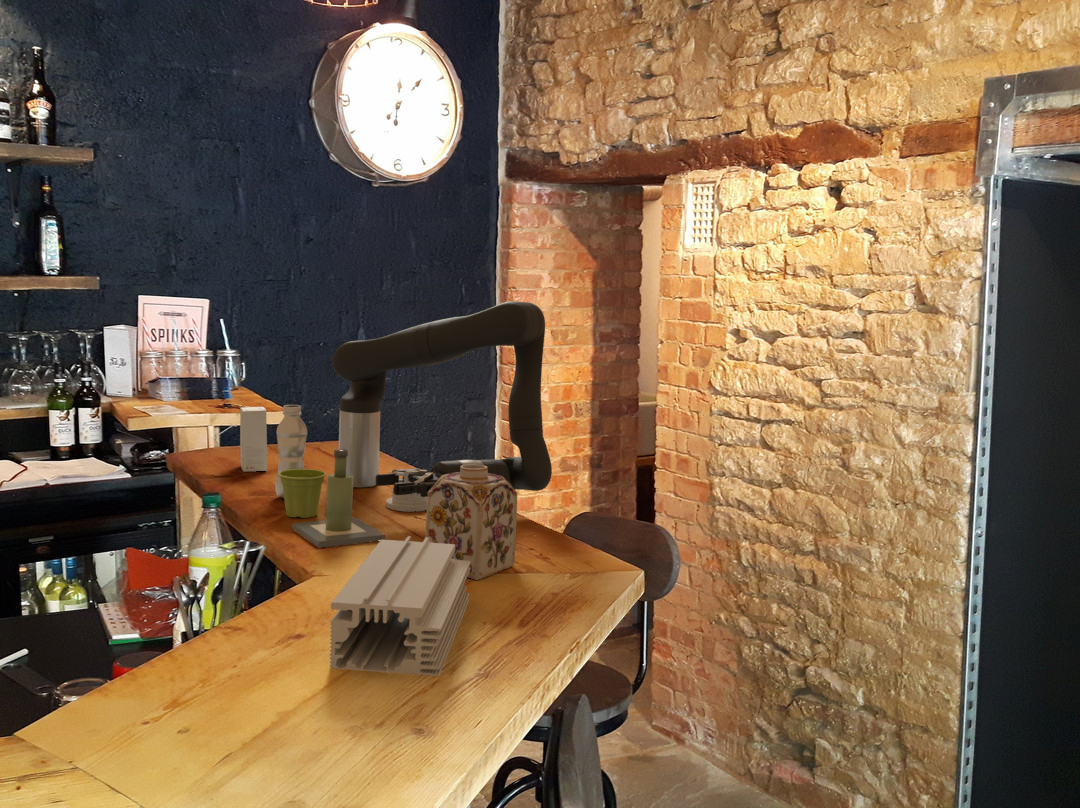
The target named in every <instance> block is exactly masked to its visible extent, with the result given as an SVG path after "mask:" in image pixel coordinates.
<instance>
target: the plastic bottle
mask: <svg viewBox="0 0 1080 808" xmlns="http://www.w3.org/2000/svg"><path fill="white" fill-rule="evenodd" d="M282 414H283V418H282V420H281V421H280V422H279V423H278V425H277V428H276V440H277V447H278V449H277V450H278V451H277V452H278V453H277V454H278V463H277V464H278V465H277V474H276V475H277V476H276V478H275V483H274V487H275V488H274V489H275V493H276V495H277V497H279V498H283V499H284V493H283V485H282V483H281V479H280V477H279V476H278V473H279V472H281V471H284V470H291V469H305V450H306V449H305V448H306V442H307V437H308V429H307V425H306V424H305V422H304V421H303V419H302V418H301V415H302V407H301V405H299V404H284V405H283V412H282Z"/></svg>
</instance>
